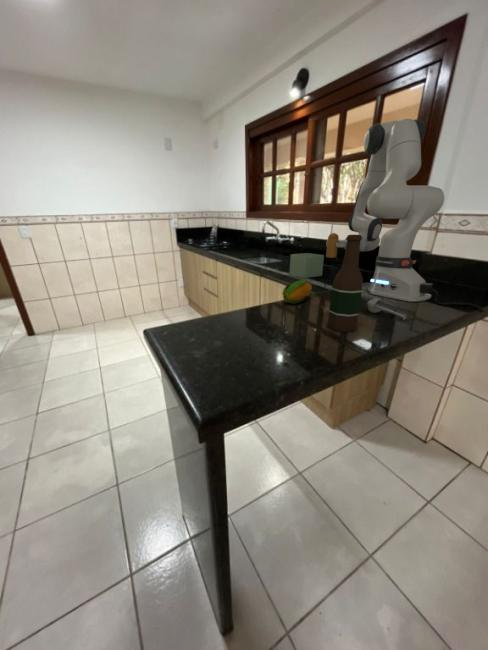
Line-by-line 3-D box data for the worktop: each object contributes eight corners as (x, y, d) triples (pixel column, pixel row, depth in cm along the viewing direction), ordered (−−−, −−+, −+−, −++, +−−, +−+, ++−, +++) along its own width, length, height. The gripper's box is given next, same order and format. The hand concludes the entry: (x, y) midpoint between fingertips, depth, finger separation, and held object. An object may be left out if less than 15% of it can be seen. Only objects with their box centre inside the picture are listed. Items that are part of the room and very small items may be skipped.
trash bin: (322, 275, 141) (324, 255, 137) (304, 278, 136) (305, 256, 132) (306, 272, 152) (308, 253, 148) (289, 274, 146) (290, 254, 142)
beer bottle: (323, 322, 76) (333, 234, 67) (350, 322, 75) (364, 234, 67) (331, 332, 68) (343, 235, 60) (361, 332, 68) (378, 235, 59)
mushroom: (404, 309, 74) (366, 294, 82) (396, 324, 75) (359, 308, 84) (413, 310, 78) (376, 296, 87) (406, 324, 80) (370, 309, 88)
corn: (278, 283, 88) (301, 274, 104) (276, 304, 91) (299, 292, 107) (298, 287, 85) (319, 277, 100) (295, 309, 88) (316, 296, 103)
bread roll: (338, 257, 135) (341, 233, 131) (331, 257, 133) (333, 233, 129) (331, 256, 140) (333, 232, 135) (323, 256, 137) (326, 233, 133)
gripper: (339, 236, 147) (319, 237, 142) (368, 238, 129) (346, 238, 124) (337, 248, 149) (317, 249, 144) (366, 251, 131) (344, 252, 126)
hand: (331, 244), depth 134 cm, fingers closed on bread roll, 5 cm apart
